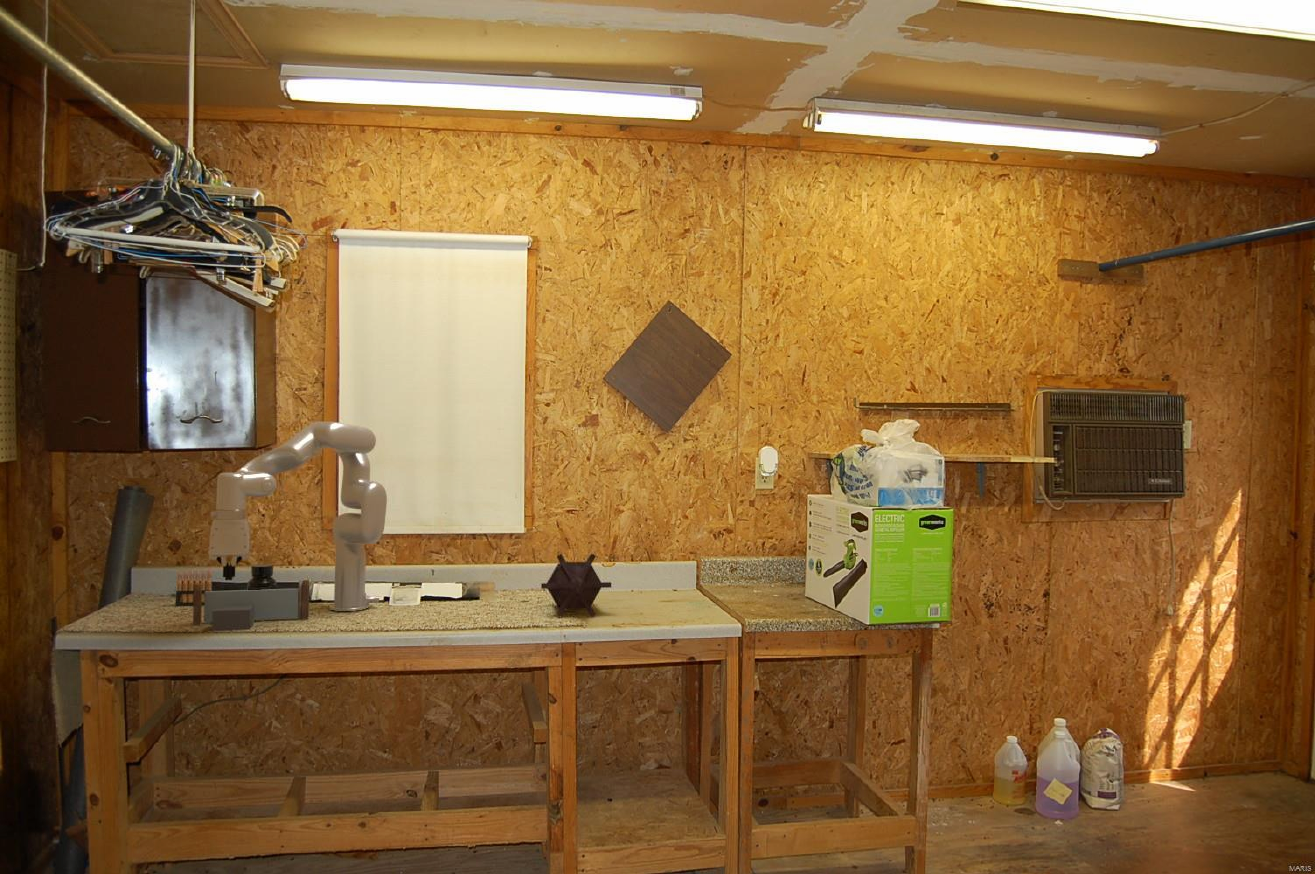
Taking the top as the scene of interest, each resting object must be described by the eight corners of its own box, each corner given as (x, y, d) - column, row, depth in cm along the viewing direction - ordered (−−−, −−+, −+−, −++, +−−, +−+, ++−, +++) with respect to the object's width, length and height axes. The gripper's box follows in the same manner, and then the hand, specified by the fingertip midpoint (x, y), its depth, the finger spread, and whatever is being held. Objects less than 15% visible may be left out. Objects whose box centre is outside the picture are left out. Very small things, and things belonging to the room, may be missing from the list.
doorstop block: (253, 625, 252) (253, 605, 252) (249, 629, 246) (250, 609, 246) (216, 627, 248) (216, 606, 248) (211, 631, 243) (212, 610, 243)
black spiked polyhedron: (599, 617, 294) (613, 622, 265) (533, 613, 290) (540, 618, 261) (604, 556, 298) (618, 554, 269) (539, 551, 293) (546, 548, 265)
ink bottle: (277, 601, 286) (278, 566, 286) (248, 603, 282) (249, 568, 282) (273, 596, 295) (274, 562, 295) (245, 598, 290) (246, 564, 290)
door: (298, 617, 261) (298, 588, 261) (297, 618, 259) (298, 589, 260) (204, 620, 253) (205, 591, 253) (203, 621, 252) (204, 592, 252)
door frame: (308, 617, 262) (309, 579, 262) (308, 619, 260) (309, 580, 260) (194, 623, 251) (195, 583, 251) (193, 625, 249) (193, 585, 249)
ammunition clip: (175, 606, 275) (175, 569, 275) (176, 605, 277) (177, 569, 277) (211, 605, 278) (211, 569, 278) (212, 604, 280) (213, 568, 280)
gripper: (199, 516, 234) (197, 582, 234) (258, 516, 240) (256, 580, 239) (203, 514, 241) (201, 578, 241) (260, 514, 247) (258, 576, 246)
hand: (228, 579), depth 240 cm, fingers closed
